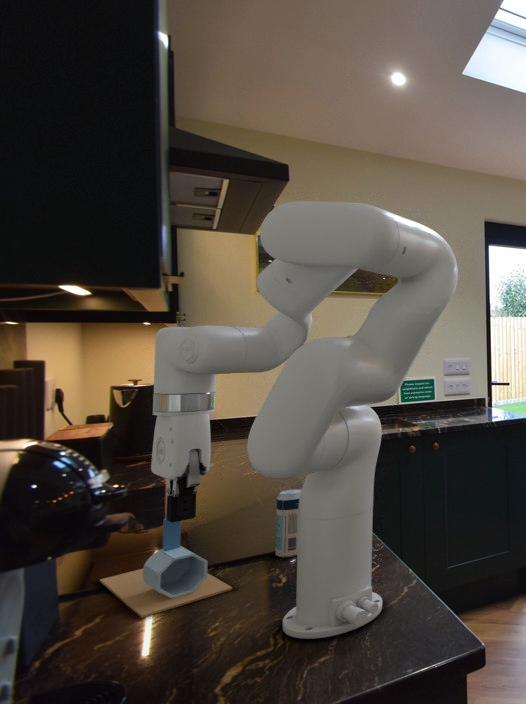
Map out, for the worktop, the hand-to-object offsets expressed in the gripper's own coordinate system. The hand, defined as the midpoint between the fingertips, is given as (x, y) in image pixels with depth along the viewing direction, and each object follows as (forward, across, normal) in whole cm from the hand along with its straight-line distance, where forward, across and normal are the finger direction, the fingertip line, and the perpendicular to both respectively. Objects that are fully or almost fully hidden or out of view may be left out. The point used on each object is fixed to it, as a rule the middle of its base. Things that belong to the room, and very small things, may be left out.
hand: (181, 519), depth 83 cm
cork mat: (+12, -7, 0) cm, 14 cm away
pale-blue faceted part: (+12, -2, 0) cm, 12 cm away
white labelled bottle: (+12, -5, +18) cm, 22 cm away
